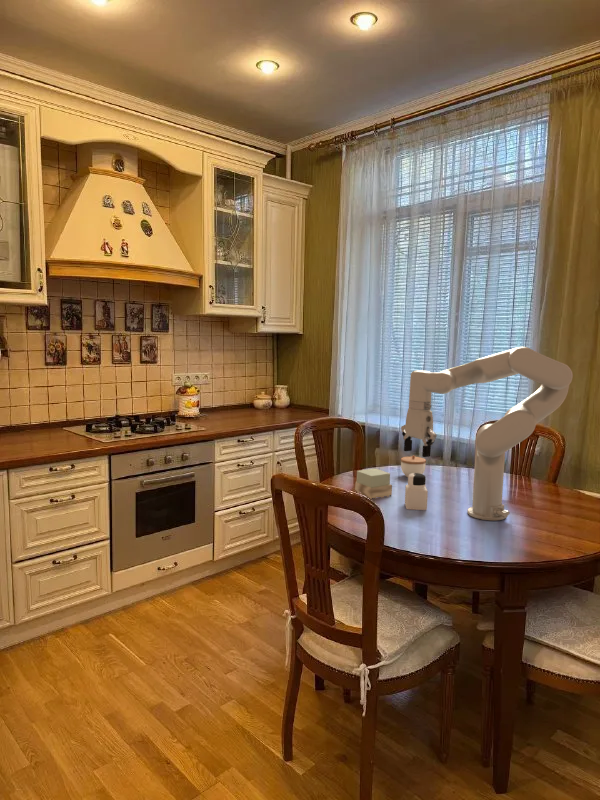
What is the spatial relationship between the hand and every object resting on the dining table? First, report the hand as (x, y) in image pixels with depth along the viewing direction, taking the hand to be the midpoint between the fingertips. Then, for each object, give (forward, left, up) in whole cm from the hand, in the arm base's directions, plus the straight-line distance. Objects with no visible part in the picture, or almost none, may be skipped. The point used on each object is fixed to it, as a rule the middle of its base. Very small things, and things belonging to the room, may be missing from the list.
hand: (416, 453), depth 197 cm
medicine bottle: (0, 0, -20) cm, 20 cm away
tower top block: (+20, +4, -15) cm, 25 cm away
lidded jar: (+34, -28, -20) cm, 48 cm away
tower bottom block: (+20, +4, -20) cm, 28 cm away
